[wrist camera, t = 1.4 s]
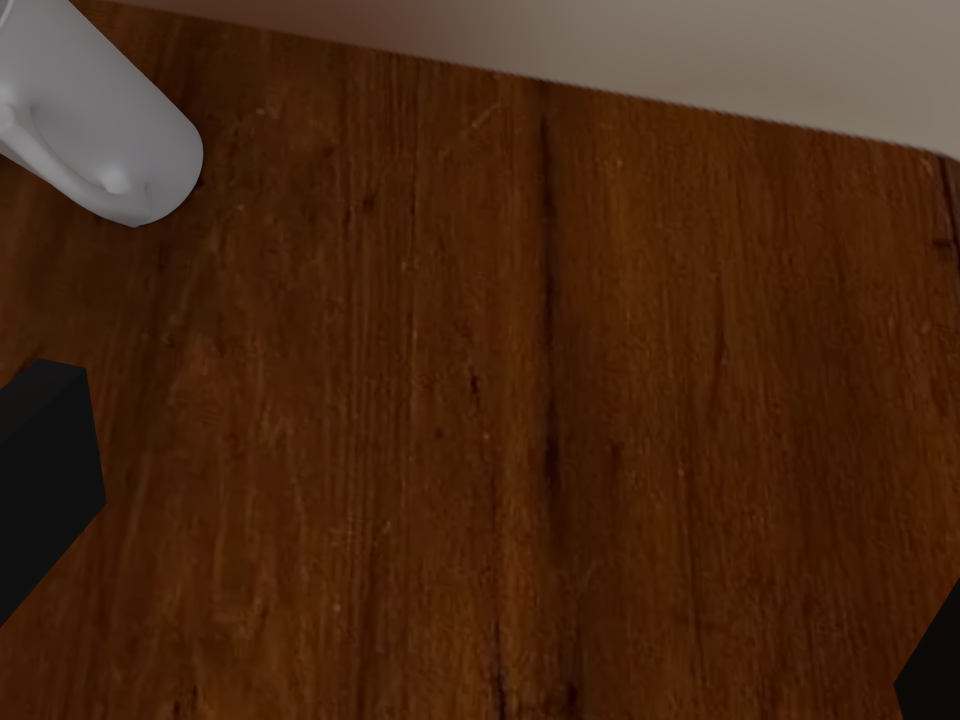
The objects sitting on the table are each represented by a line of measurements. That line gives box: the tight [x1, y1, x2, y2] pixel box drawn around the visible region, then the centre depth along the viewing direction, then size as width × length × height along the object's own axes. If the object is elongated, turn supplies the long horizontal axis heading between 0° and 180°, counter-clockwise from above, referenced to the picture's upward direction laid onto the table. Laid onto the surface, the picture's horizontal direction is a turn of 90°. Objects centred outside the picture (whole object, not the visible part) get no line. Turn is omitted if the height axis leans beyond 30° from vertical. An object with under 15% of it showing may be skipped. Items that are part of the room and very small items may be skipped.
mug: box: [0, 0, 203, 227], centre depth 35 cm, size 10×7×12 cm, turn 28°
